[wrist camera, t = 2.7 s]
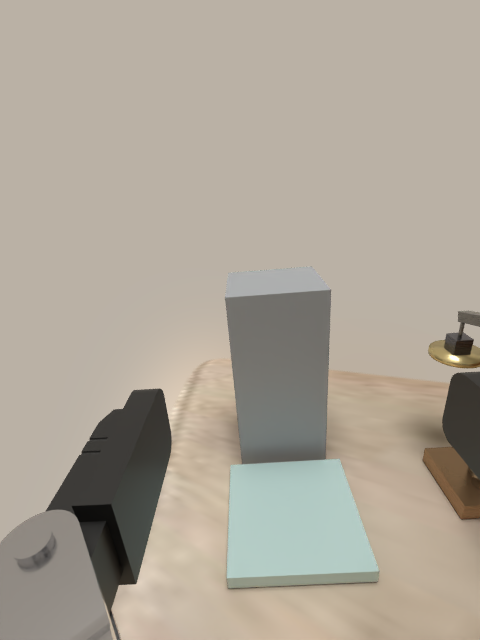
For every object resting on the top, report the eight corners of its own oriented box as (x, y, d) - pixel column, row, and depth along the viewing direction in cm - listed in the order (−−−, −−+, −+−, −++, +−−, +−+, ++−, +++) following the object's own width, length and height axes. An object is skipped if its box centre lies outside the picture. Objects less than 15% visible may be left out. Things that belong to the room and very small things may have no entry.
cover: (310, 410, 26) (311, 266, 22) (325, 459, 22) (331, 289, 17) (241, 415, 27) (228, 272, 22) (242, 464, 22) (225, 297, 17)
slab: (339, 468, 21) (339, 458, 21) (377, 581, 15) (379, 571, 15) (231, 474, 21) (230, 465, 21) (228, 588, 15) (226, 578, 15)
